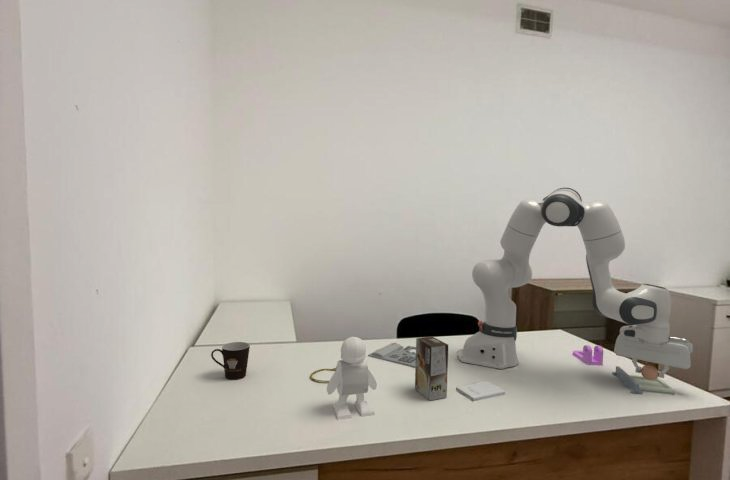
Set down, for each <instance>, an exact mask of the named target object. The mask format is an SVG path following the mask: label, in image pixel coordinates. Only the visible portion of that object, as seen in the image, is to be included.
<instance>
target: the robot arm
mask: <svg viewBox="0 0 730 480" xmlns="http://www.w3.org/2000/svg"><path fill="white" fill-rule="evenodd" d="M546 223H547V224H549V225H550V226H553V227H577V228H578V230H579V231H580V235H581V238H582V241H583V244H584V246H585V247H584V249H585V252H586V255H585V261H586V267H587V270H588V275H589V278H590V283H591V288H592V307H593V309H594V311H595V312H596V313H597V314H598V315H599V316H601V317H604V318H607V319H611V320H615V321H618V322H621V323H624V324H627V325H623V326H621V327H620V329H619V335H618V336H617V338H616V340H615V344H614V350H613V352H614V354H615V355H616V356H619V357H623V358H628V359H631V362H632V365H634V368H635V373H639V374H641V369H642V366H640V365H638V360H640V361H644V362H648V363H649V362H650V363H654V364H658V365H663V369H662V370H658V372H659V376H658V378H659V379H661V378H662V379H665V374H666V373H667V372H668V371H669V370H670V367H675V368H679V369H683V370H689V369H690V368H692V367H691V365H692V364H691V354H692V353H693V351H694V345H693V342H691V341H690V340H688V339H687V338H683V337H682V338H680V337H677V336H670V329H671V328H670V327H671V326H670V321H669V320H670V317H671V314H672V313H671V311H672V299H671V293H670V291H669V289H667V288H666V287H664V286H659V285H655V284H650V283H642V284H641V285H640V286H639V287H638V288H636V289H634V290H632V291H628V292H627V293H626V292H623V291H619V290H618V289H617V288H615V286H614V285H613V280H612V277H611V272H610V268H609V267H610V266H609V265H610V262H611V261H613V260H615V259H617V258H619V257H620V255H622V254H623V252H624V250H625V248H626V244H625V242H626V241H625V237H624V234H623V232H622V229H621V226H620V223H619V221H618V219H617V217H616V215H615V213H614V211H613V210H612V208H611V207H610V205H609V204H608V203H607V202H604V201H602V200H600V201H599V200H596V201H595V200H594V201H590V202H584V201H583V199H582V197H581V195H580V193H579V191H577V190H575V189H573V188H571V187H560V188H558V189H555V190H554V191H552V192H550V193H549V194H548V195H546V196H545V197H543V199H542V200H539V199H538V200H537V199H533V198H526V199H523V200H521V201H520V202H519V204H518V205H517V206H516V208H515V209H514V211H513V212H512V214H511V217H510V218H509V220H508V222H507V224H506V227H505V229H504V232H503V234H502V236H501V238H500V246H501V248H502V249H503V251H504V252H503V254H502V255H503V256H502V258H501V259H487V260H486V259H485V260H483V261H480V262H477V263H476V264H475V265H474V266H473V268H472V273H471V275H472V280H473V282H474V283H475V285H476V286H477V287H478V288H479V289H480V291H481V292H482V295H483V298H484V304H485V307H484V308H485V310H484V311H485V313H484V315H485V316H484V317H485V318H484V321H482V320H479V321H478V322H477V326H478V327H479V329H478V330H479V331H477V332H476V333H474V334H473V335H471V336H469V337H468V338H466V339H465V342H464V344H463V348H461V349H458V351H457V354H456V355H457V359H458V360H459V361H460V362H461V363H467V364H472V365H477V366H483V367H488V368H494V369H500V370H503V369H507V368H511V367H516V366H518V365H519V360H518V359H519V358H518V354H517V346H516V345H517V344H516V341H517V336H518V335H517V334H518V328H517V327H518V326H517V325H516V321H517V305H516V303H515V302H514V301H513V300H512V299H511V298H510V296H509V292H508V291H509V290H508V289H511V288H512V289H513V288H520V287H523V286H525V285H527V284H529V283H530V281H531V280H532V277H533V270H532V267H531V266H530V255H531V252H532V250H533V247H534V245H535V243H536V241H537V239H538V237H539V234H540V233H541V230H542V228H543V227H544V225H545V224H546Z"/></svg>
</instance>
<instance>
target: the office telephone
mask: <svg viewBox="0 0 730 480" xmlns="http://www.w3.org/2000/svg"><path fill="white" fill-rule="evenodd" d="M411 350H415V352H414V351H411ZM367 357H370V358H374V359H377V360H382V361H386V362H390V363H394V364H397V365H402V366H406V367H410V368H414V369H415V367H416V346H412V345H407V346H406V347H404V346H402V345H401V344H399V343H397V342H391V343H389V344H387V345H385V346H383V347H381V348H379V349H377V350H375V351H373V352H371V353H369V354H367Z"/></svg>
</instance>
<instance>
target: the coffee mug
mask: <svg viewBox="0 0 730 480" xmlns="http://www.w3.org/2000/svg"><path fill="white" fill-rule="evenodd" d="M250 346H251V344H250V343H249V342H244V341H234V342H233V341H231V342H227V343H225V344H223V345H222V346H221V349H220V348H215V349H214V350H212V351H211V354H210V356H211V359H212V360H213V361H214V362H215V363H216V364H217V365H219V366H220V367H222V368H223V369H224V377H225V379H226V380H230V381H238V380H241V379H244V378H245V377H246V376H247V369H248V361H249V355H250ZM215 352H219V353H220V354H221V355H222V359H223V364H222V363H221V362H219V361H218V360H217V359H216V358H215V357H214V353H215Z"/></svg>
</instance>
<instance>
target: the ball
mask: <svg viewBox="0 0 730 480" xmlns="http://www.w3.org/2000/svg"><path fill="white" fill-rule="evenodd" d="M640 374H641V376H643V377H644V378H645V379H647V380H656V379H657V378H659V370H658V369H657V368H656V366H653V365H650V364H646V365H643V366H641V373H640Z"/></svg>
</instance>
